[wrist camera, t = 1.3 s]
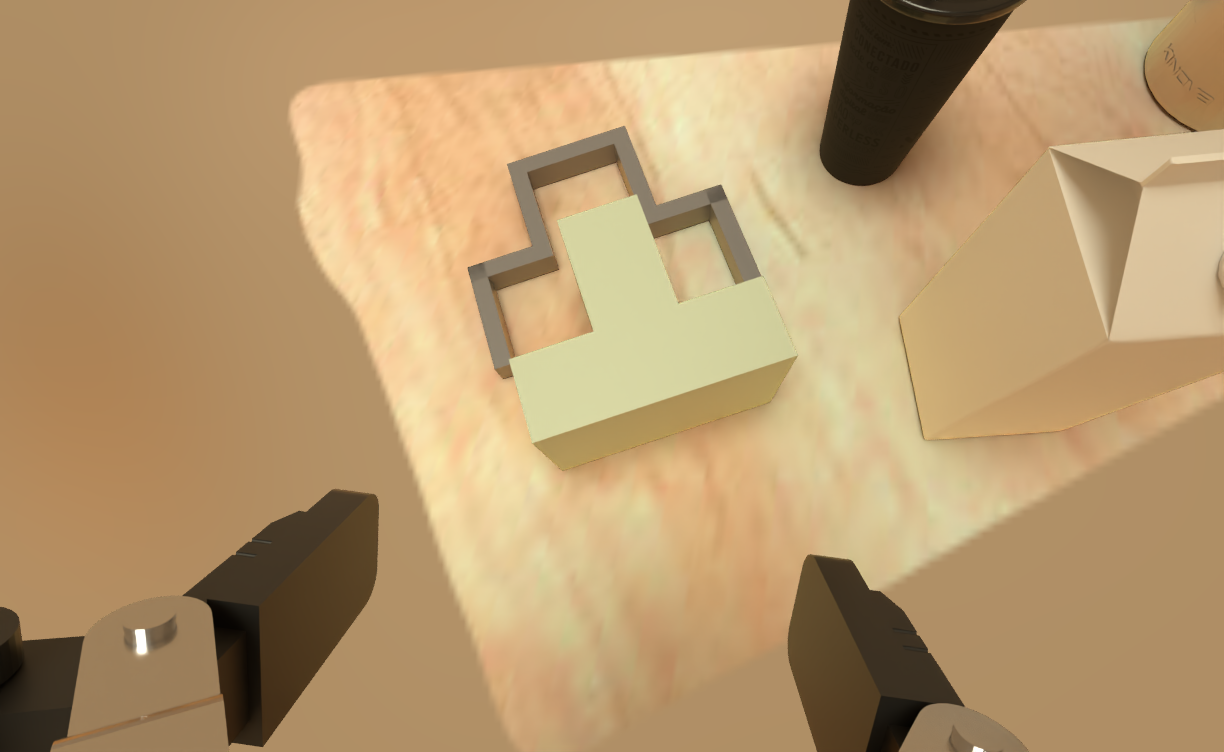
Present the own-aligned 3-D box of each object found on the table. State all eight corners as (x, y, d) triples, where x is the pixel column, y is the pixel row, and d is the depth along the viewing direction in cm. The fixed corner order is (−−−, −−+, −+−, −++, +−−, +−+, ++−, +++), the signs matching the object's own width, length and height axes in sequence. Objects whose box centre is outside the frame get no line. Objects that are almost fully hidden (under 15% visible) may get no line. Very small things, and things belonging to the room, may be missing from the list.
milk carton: (896, 317, 36) (1130, 51, 17) (1028, 306, 35) (1408, 22, 17) (922, 441, 33) (1218, 285, 15) (1062, 431, 33) (1540, 259, 15)
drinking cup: (789, 198, 38) (904, -171, 19) (803, 95, 40) (920, -329, 21) (920, 214, 37) (1181, -161, 18) (928, 107, 39) (1168, -328, 20)
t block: (706, 249, 38) (716, 168, 30) (769, 402, 35) (797, 355, 27) (516, 311, 38) (477, 246, 30) (562, 471, 35) (532, 443, 27)
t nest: (685, 125, 41) (686, 105, 39) (758, 294, 37) (763, 280, 35) (454, 200, 40) (444, 184, 39) (503, 378, 36) (494, 369, 35)
